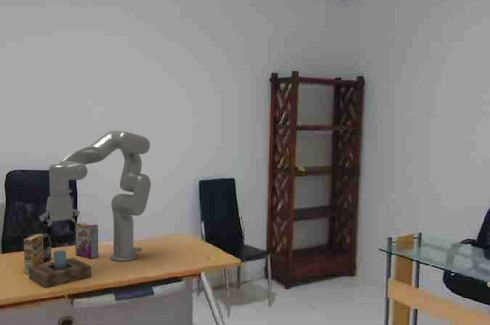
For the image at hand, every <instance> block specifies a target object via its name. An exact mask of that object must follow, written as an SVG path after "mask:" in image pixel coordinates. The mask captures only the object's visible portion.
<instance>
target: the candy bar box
mask: <svg viewBox="0 0 490 325" xmlns="http://www.w3.org/2000/svg"><path fill="white" fill-rule="evenodd" d="M74 228H75V256H78V257H82V258H86V259H95V258H98V257H99V224H96V223H93V222H92V223H91V222H87V221H77V222H74Z"/></svg>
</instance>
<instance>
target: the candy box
mask: <svg viewBox="0 0 490 325" xmlns="http://www.w3.org/2000/svg"><path fill="white" fill-rule="evenodd" d="M34 234H35V235H33V234H32V235H33V236H30V235H29V236H30V237H29V236H27V237H25V238H23V254H24V255H23V258H24V260H23V262H24V273H25V274H29V267H30V266H35V265H40V264H45V262H44V259H43V235H37V234H38V233H34Z"/></svg>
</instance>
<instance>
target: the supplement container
mask: <svg viewBox="0 0 490 325" xmlns="http://www.w3.org/2000/svg"><path fill="white" fill-rule="evenodd" d="M35 234H37V235H43V259H44V263H48V262H49V261H50V260H51V259H52V241H51V236H49V235H47V233H43V232H42V233H34V234H33V233H32V234H29V236H28V237H30V236H33V235H35Z"/></svg>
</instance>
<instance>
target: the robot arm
mask: <svg viewBox="0 0 490 325" xmlns="http://www.w3.org/2000/svg"><path fill="white" fill-rule="evenodd" d="M150 147H151V142H150V140H149V139H148V138H147V137H145V136H143V135H139V134H136V133H132V132H129V131H124V130H111V131H108V132H106V133H105V134H104V135H102V136H101V137H99V138H98V139H97V140H96V141H95V142H93V143H92V144H90V145H89V146H86V147H84V148H81V149H79V150H76V151H74V152H71V153H70V154H69V155H67V156H66V157H64V158H63V159H62V160H61V161H59V163H54V164H50V166H49V168H48V172H49V173H48V174H49V175H48V176H49V196H48V197H47V201H46V211H45V212H43V214H41V215H39V217H38V218H39V220H40V222H41V223H42V224H43V225H44V226H45V234H47V235H49V236H50V237H51V236H52V235H53V227H52V224H53V222H59V221H65V220H69V221H68V231H70V232H74V231H75V223H76V221H77V219H78V218H79V215H80V213H81V211H80V210H77V209H75V208H73V200H72V196H71V195H70V193H72V192H73V190H72V189H71V188H70V187H69V186H70V185H69V182H70V181H81V180H83V179H84V178H87V175H88V168H87V165H91V164H95V163H99V162H102V161H103V160H105V159H107V157H108V156H109V155H111V154H112V153H113V152H114V151H116V150H120V152H121V153H122V155H123V159H124V164H123V168H122V173H121V176H120V180H119V188H120V189H121V190H122V191H125V192H128V193H129V192H130V193H132V194H127V193H118V194H116V195H114V196H113V198H112V199H111V204H110V205H111V212H112V217H113V253H112V254H110V256H109V259H111V260H112V261H116V262H117V261H118V262H128V261H133V260H135V259H136V258H137V256H138V255H137V252H142V251H143V248H142V247H135V246H134V218H133V216H136V217H138V216H141V215H142V214H143V213H144V212H145V210H146V208H147V204H148V199H149V195H150V191H151V187H152V186H151V185H152V184H151V179H150V177H149V175H147V174H144V173H141V172H142V166H143V162H142V158H141V155H145V154H147V153H148V152H149V150H150ZM45 218H46V219H45Z"/></svg>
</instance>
